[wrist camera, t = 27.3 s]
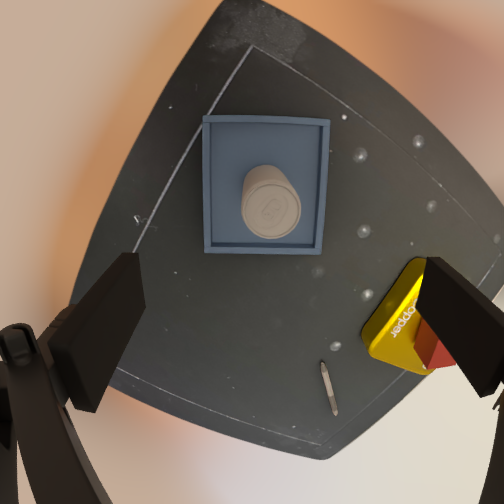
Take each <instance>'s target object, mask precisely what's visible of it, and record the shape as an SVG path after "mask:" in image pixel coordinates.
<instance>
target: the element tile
mask: <svg viewBox="0 0 504 504" xmlns="http://www.w3.org/2000/svg"><path fill="white" fill-rule="evenodd" d="M425 265H426V259H424V258H415V259H413V260H412V261H410V262H409V263H408V265H407V266H406V267H405V269H404V270H403V272H402V273H401V275H400V276H399V278H398V279H397V281H396V282H395V284H394V285H393V287H392V288H391V290H390V291H389V293H388V294H387V295H386V297H385V298H384V300H383V301H382V303H381V304H380V305H379V307H378V308H377V310H376V311H375V312H374V314H373V315H372V316H371V318H370V319H369V320H368V322H367V323H366V324H365V326H364V327H363V329H362V332H361V337H362V340H363V342H364V344H365V347H366V349H367V351H368V353H369V354H370V355H371V356H372V357H373V358H375V359H378V360H381V361H384V362H386V363H389V364H392V365H395V366H398V367H400V368H403V369H406V370H409V371H412V372H415V373H418V374H420V375H427V374H430V373H432V372H433V371H434V370H435V369H430V370H427V369H426V368H425V366H424V364H423V363H422V361H421V360H420V358H419V356H418V355H417V353H416V352H415V350H414V348H413V346H414V344H415V341H416V338H417V335H418V331H419V328H420V325H421V322H422V319H423V317H422V316H421V315H420V314H419V312H418V311H417V310H416V309H415V305H416V301H417V298H418V294H419V290H420V286H421V282H422V278H423V274H424V269H425Z"/></svg>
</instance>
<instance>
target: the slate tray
mask: <svg viewBox="0 0 504 504" xmlns="http://www.w3.org/2000/svg"><path fill="white" fill-rule="evenodd" d="M202 122H203V123H202V171H203V223H204V253H237V254H306V255H321V248H322V239H323V228H324V217H325V204H326V191H327V177H328V160H329V141H330V127H329V126H330V119H319V118H306V117H289V116H265V115H203V116H202ZM261 165H272V166H275V167H277V168H278V169H279V170H280V171H281V172H282V173H283V174H284V175H285V177H286V178H287V180H288V181H289V182H290V184H291V185H292V187H293V188H294V190H295V191H296V193H297V195H298V196H299V199H300V203H301V215H300V218H299V222H298V223H297V225H296V227H295V228H294V229H293V230H292V231H291V232H290V233H289V234H287V235H285V236H283V237H280V238H276V239H266V238H262V237H260V236H258V235H256V234H254V233H253V232H252V231H251V230H250V229H249V228H248V227H247V225H246V224H245V222H244V221H243V217H242V214H241V201H242V192H243V184H244V179H245V177H246V175H247V173H248V172H249V171H251V170H252V169H253V168H255V167H257V166H261Z"/></svg>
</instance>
